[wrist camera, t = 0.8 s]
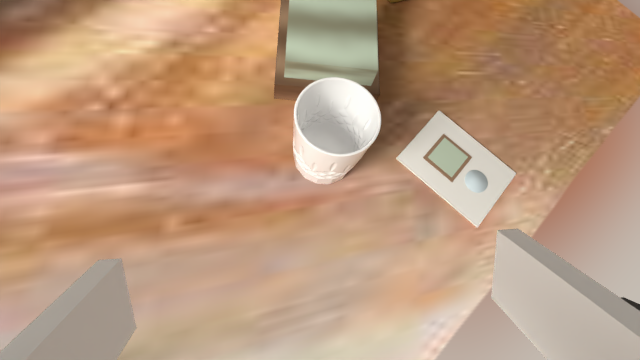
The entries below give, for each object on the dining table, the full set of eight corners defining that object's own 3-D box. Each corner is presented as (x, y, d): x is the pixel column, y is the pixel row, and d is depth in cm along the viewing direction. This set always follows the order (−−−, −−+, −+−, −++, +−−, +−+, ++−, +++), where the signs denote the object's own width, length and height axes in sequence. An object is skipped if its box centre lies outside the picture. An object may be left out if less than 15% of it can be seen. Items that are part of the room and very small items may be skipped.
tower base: (372, 107, 45) (387, 79, 39) (274, 98, 44) (274, 67, 38) (370, 27, 49) (384, -9, 43) (280, 17, 47) (281, -22, 42)
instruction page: (395, 158, 43) (396, 157, 43) (438, 111, 46) (439, 109, 46) (476, 227, 42) (478, 226, 41) (515, 173, 45) (517, 172, 44)
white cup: (274, 149, 42) (275, 104, 32) (328, 114, 44) (344, 62, 35) (317, 203, 40) (331, 173, 31) (370, 164, 43) (398, 125, 33)
